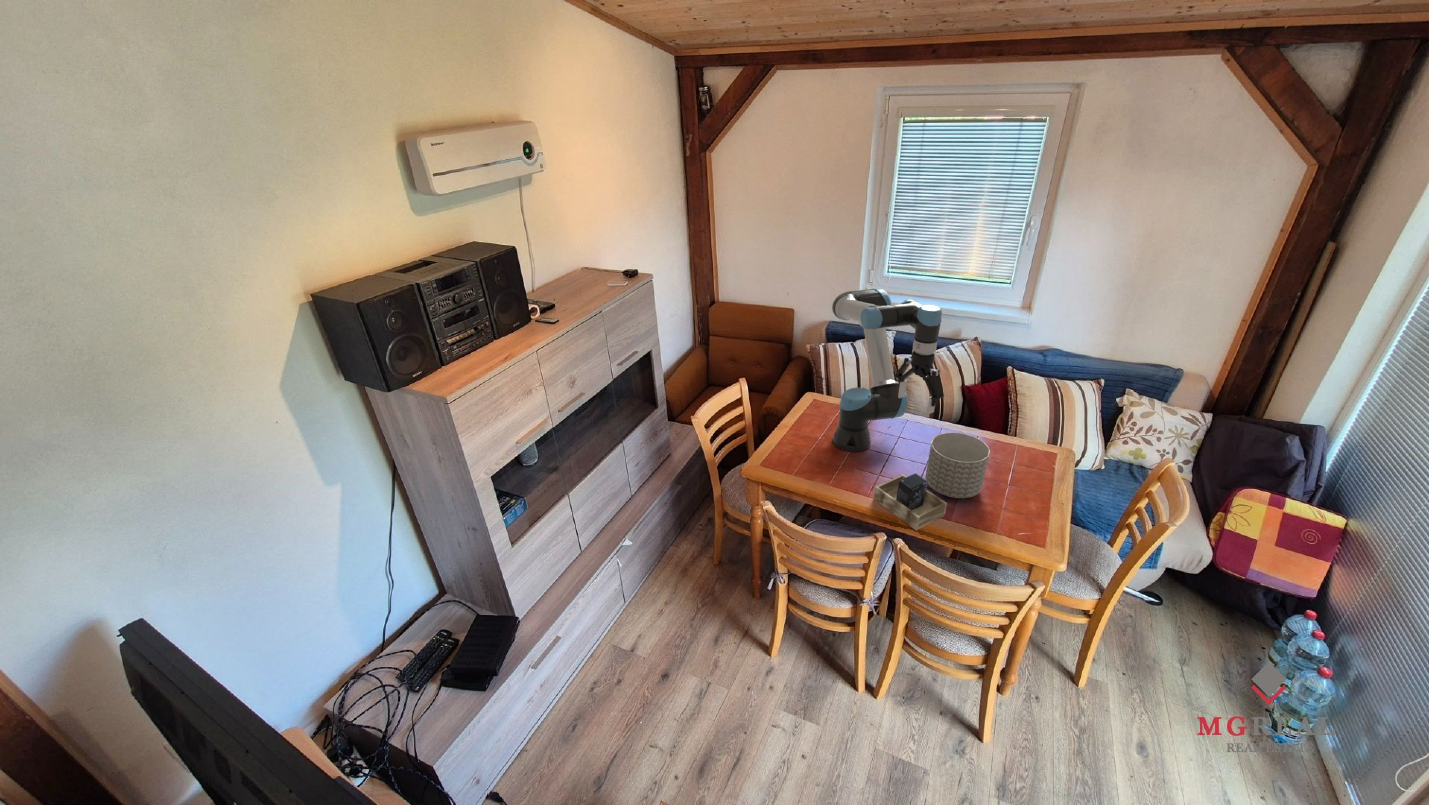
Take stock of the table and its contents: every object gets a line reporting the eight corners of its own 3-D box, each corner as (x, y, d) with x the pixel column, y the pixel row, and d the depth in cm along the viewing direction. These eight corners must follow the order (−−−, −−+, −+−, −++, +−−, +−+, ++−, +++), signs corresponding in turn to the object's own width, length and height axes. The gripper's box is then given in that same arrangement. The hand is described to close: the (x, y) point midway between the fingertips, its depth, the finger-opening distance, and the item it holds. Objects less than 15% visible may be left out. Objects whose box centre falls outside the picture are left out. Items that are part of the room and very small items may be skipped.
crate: (872, 499, 201) (874, 487, 198) (901, 486, 207) (902, 474, 204) (915, 531, 186) (917, 518, 183) (944, 515, 192) (947, 503, 189)
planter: (975, 475, 210) (984, 434, 201) (984, 507, 194) (995, 465, 185) (921, 470, 214) (928, 430, 206) (926, 501, 198) (934, 459, 189)
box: (907, 513, 192) (911, 488, 187) (895, 504, 196) (898, 479, 191) (923, 505, 195) (928, 480, 190) (911, 496, 199) (915, 472, 194)
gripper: (889, 341, 199) (882, 393, 210) (945, 367, 180) (935, 423, 191) (904, 336, 203) (897, 388, 213) (961, 361, 183) (950, 416, 194)
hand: (915, 404), depth 202 cm, fingers open, 13 cm apart
